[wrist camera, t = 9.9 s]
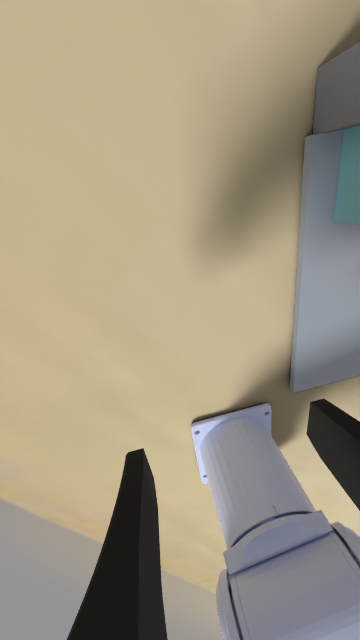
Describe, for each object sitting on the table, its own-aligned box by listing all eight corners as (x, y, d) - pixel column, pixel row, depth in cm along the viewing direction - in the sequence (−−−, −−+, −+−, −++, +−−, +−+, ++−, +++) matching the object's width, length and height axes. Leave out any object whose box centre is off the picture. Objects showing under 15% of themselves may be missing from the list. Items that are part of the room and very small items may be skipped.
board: (383, 363, 26) (389, 367, 25) (289, 389, 25) (293, 393, 24) (452, 111, 16) (463, 109, 16) (305, 137, 15) (311, 135, 15)
